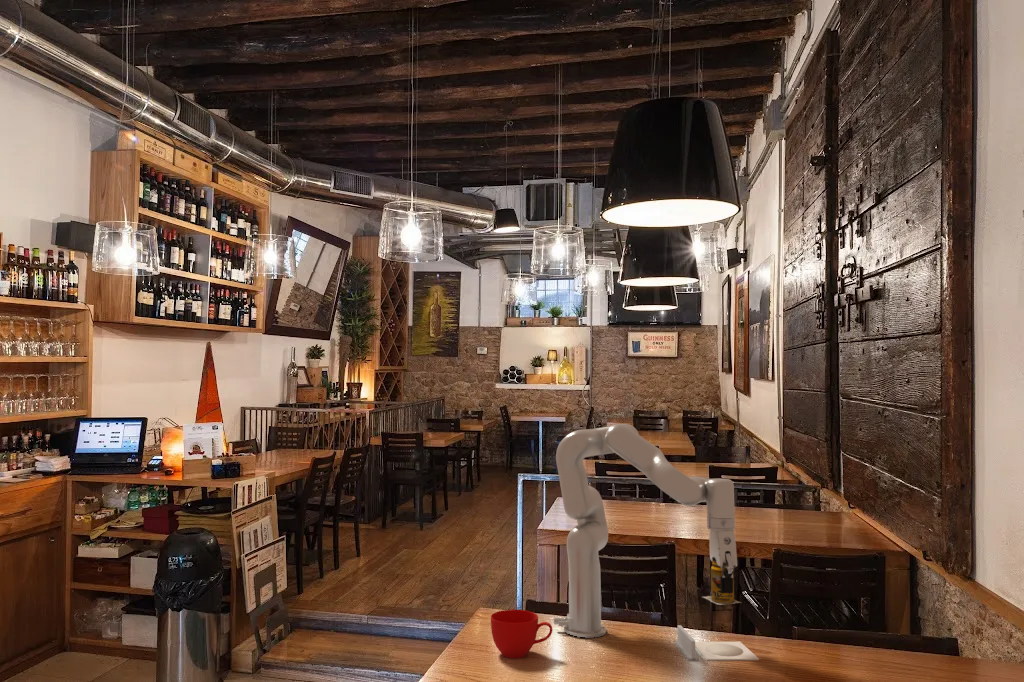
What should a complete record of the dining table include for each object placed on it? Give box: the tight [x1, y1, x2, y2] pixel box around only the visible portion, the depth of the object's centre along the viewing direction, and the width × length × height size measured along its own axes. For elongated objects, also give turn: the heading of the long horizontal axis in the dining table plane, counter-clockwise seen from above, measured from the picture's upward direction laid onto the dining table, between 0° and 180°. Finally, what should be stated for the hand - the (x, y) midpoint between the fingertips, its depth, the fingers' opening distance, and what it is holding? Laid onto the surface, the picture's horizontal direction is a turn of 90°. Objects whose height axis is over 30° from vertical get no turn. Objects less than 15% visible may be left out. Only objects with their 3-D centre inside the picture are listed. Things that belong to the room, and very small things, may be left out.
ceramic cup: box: [490, 609, 553, 659], centre depth 193 cm, size 13×17×10 cm
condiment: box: [702, 557, 742, 606], centre depth 198 cm, size 7×8×12 cm
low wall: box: [673, 624, 700, 662], centre depth 195 cm, size 3×14×5 cm, turn 2°
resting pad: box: [695, 641, 760, 662], centre depth 196 cm, size 14×14×1 cm
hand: (722, 588), depth 197 cm, fingers closed on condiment, 6 cm apart
